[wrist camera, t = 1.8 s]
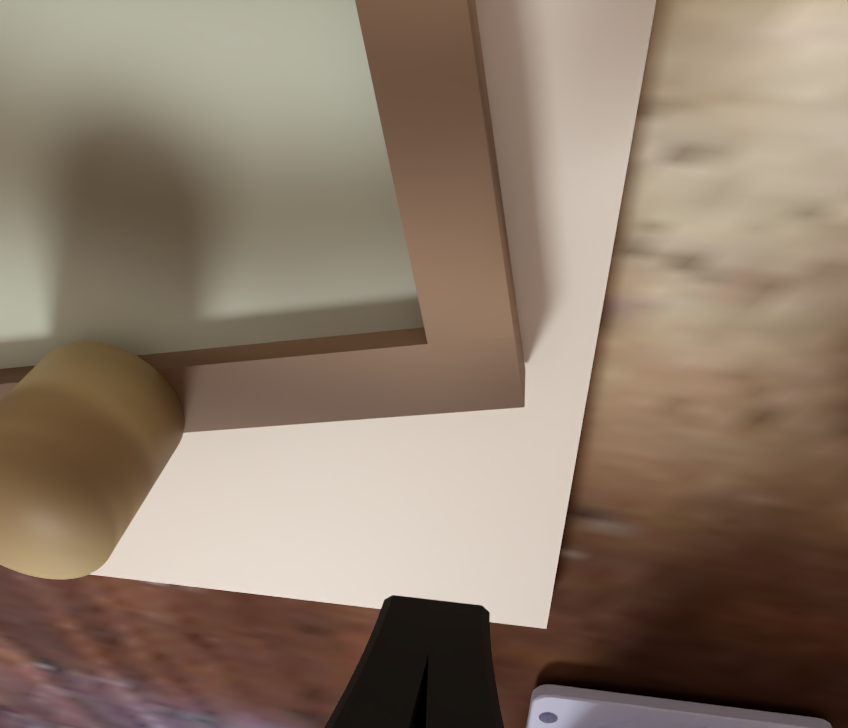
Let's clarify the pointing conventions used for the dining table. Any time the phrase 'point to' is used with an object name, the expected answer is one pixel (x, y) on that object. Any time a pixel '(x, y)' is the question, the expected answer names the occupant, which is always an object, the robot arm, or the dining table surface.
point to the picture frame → (233, 240)
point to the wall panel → (447, 432)
